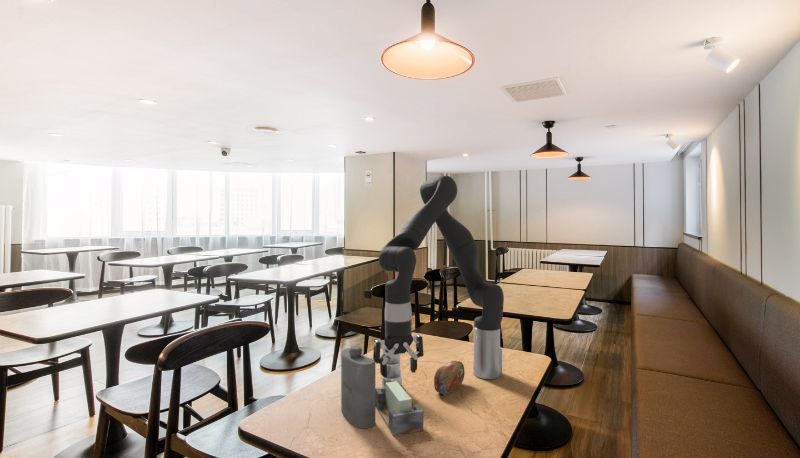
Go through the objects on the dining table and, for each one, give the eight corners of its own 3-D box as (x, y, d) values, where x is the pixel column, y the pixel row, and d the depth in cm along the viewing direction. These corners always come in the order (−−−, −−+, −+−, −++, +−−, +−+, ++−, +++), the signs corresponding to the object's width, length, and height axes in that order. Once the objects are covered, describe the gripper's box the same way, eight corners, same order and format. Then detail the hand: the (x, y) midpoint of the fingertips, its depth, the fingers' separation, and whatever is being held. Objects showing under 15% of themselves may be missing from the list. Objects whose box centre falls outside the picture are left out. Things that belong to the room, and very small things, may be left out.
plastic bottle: (399, 394, 123) (400, 332, 122) (379, 392, 124) (379, 331, 124) (403, 386, 129) (404, 327, 129) (384, 384, 131) (384, 325, 130)
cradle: (401, 400, 119) (401, 384, 119) (423, 430, 103) (423, 411, 102) (374, 405, 116) (374, 388, 116) (393, 436, 100) (393, 416, 100)
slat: (396, 404, 116) (396, 381, 115) (411, 424, 104) (411, 399, 104) (385, 406, 114) (385, 382, 114) (399, 426, 103) (399, 401, 103)
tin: (440, 398, 120) (440, 372, 120) (432, 395, 122) (432, 369, 122) (465, 383, 132) (465, 358, 132) (457, 380, 134) (457, 356, 134)
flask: (336, 408, 114) (335, 342, 113) (353, 403, 117) (353, 338, 116) (359, 432, 101) (359, 357, 101) (378, 426, 105) (378, 353, 104)
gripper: (416, 311, 114) (417, 365, 115) (370, 316, 109) (370, 372, 110) (426, 318, 107) (427, 375, 108) (377, 323, 102) (378, 383, 103)
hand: (398, 374), depth 109 cm, fingers open, 8 cm apart
